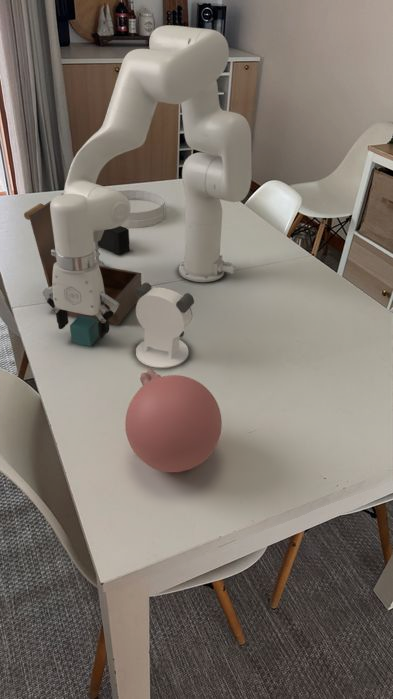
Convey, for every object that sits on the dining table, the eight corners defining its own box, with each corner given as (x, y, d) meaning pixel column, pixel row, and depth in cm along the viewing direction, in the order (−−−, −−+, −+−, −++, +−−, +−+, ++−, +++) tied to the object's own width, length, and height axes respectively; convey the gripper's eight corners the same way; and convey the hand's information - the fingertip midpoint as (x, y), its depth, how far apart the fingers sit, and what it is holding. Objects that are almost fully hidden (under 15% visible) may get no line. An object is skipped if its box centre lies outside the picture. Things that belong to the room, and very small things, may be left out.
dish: (163, 229, 164) (162, 214, 161) (94, 226, 164) (93, 211, 161) (167, 204, 182) (166, 191, 179) (105, 202, 182) (104, 188, 179)
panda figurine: (199, 346, 112) (202, 286, 103) (177, 375, 104) (178, 312, 95) (151, 332, 116) (150, 273, 107) (126, 359, 107) (122, 297, 99)
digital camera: (133, 250, 151) (132, 227, 147) (119, 255, 147) (118, 233, 143) (109, 240, 156) (107, 218, 152) (95, 245, 153) (94, 223, 149)
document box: (141, 294, 130) (141, 272, 126) (117, 325, 118) (115, 302, 114) (83, 284, 133) (80, 262, 129) (53, 312, 121) (50, 289, 118)
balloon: (192, 400, 97) (195, 334, 88) (232, 479, 82) (240, 409, 73) (113, 417, 93) (107, 349, 84) (140, 503, 78) (136, 432, 69)
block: (99, 335, 114) (98, 318, 112) (90, 346, 111) (88, 329, 108) (81, 331, 115) (79, 315, 112) (71, 342, 112) (69, 325, 109)
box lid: (66, 192, 119) (46, 192, 121) (31, 214, 108) (9, 214, 109) (81, 260, 129) (63, 259, 131) (51, 288, 117) (31, 286, 119)
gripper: (27, 259, 100) (39, 331, 110) (107, 273, 96) (112, 347, 106) (47, 244, 106) (56, 314, 116) (123, 258, 102) (126, 329, 112)
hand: (83, 330), depth 111 cm, fingers open, 9 cm apart
